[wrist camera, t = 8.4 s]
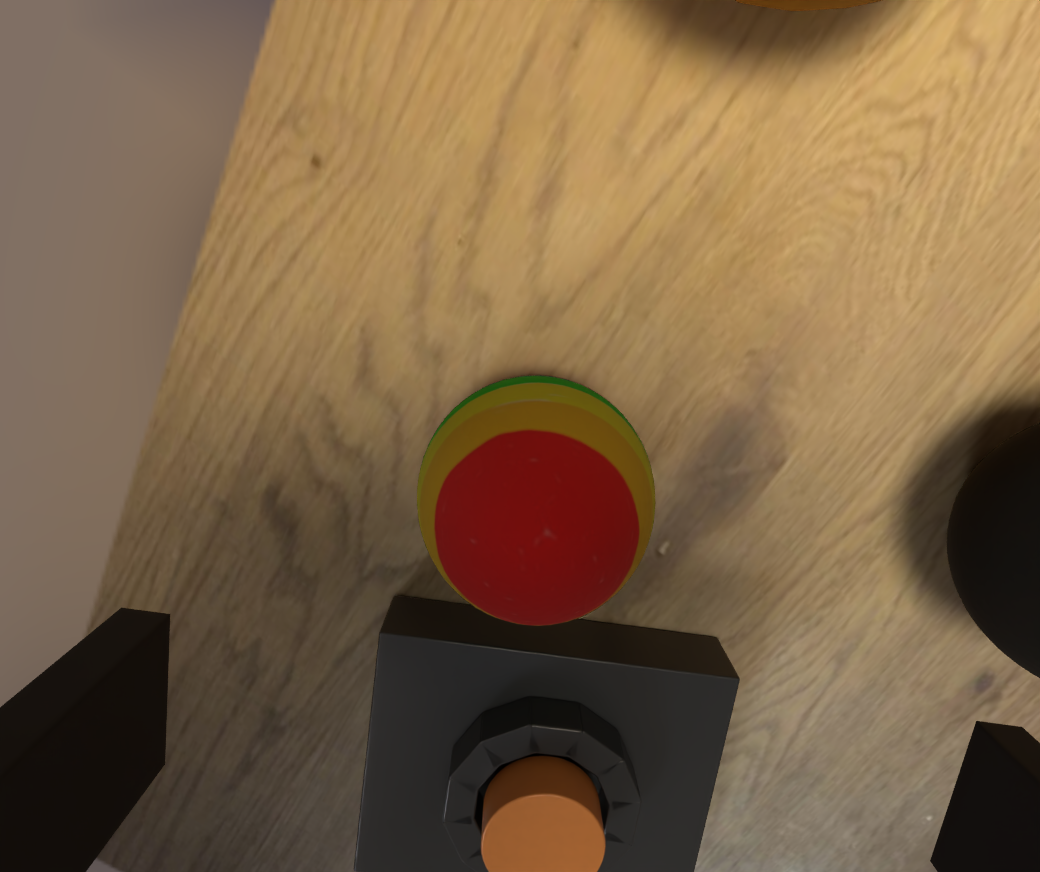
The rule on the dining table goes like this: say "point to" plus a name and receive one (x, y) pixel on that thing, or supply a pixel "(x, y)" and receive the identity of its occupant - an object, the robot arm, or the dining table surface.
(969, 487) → the decorative ball
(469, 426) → the decorative egg
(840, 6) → the apple
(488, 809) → the orange button
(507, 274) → the dining table surface
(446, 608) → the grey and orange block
